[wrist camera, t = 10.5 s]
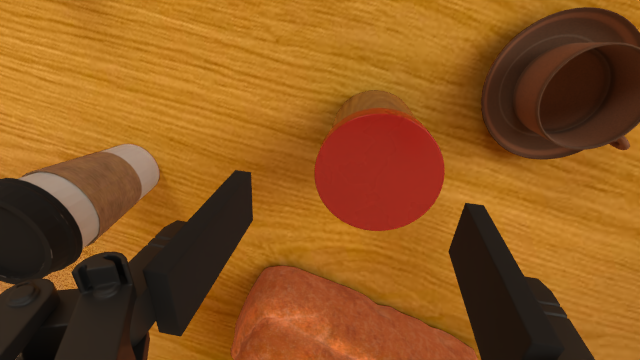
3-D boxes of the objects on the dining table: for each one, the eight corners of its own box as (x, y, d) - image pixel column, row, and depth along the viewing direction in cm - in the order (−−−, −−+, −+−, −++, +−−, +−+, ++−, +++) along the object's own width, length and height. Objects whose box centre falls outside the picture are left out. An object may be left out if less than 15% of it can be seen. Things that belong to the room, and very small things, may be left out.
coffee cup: (90, 169, 37) (-68, 244, 23) (118, 116, 34) (-48, 169, 20) (150, 212, 38) (34, 306, 25) (182, 166, 35) (69, 246, 22)
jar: (352, 76, 29) (347, 94, 19) (430, 110, 29) (462, 145, 20) (320, 150, 32) (303, 196, 23) (390, 180, 33) (401, 238, 23)
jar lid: (399, 235, 24) (402, 249, 23) (300, 191, 24) (296, 202, 22) (463, 139, 21) (472, 148, 19) (348, 86, 20) (346, 90, 18)
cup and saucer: (665, 45, 25) (753, 47, 19) (561, 171, 30) (606, 201, 24) (531, -16, 24) (582, -33, 19) (449, 123, 29) (469, 142, 24)
